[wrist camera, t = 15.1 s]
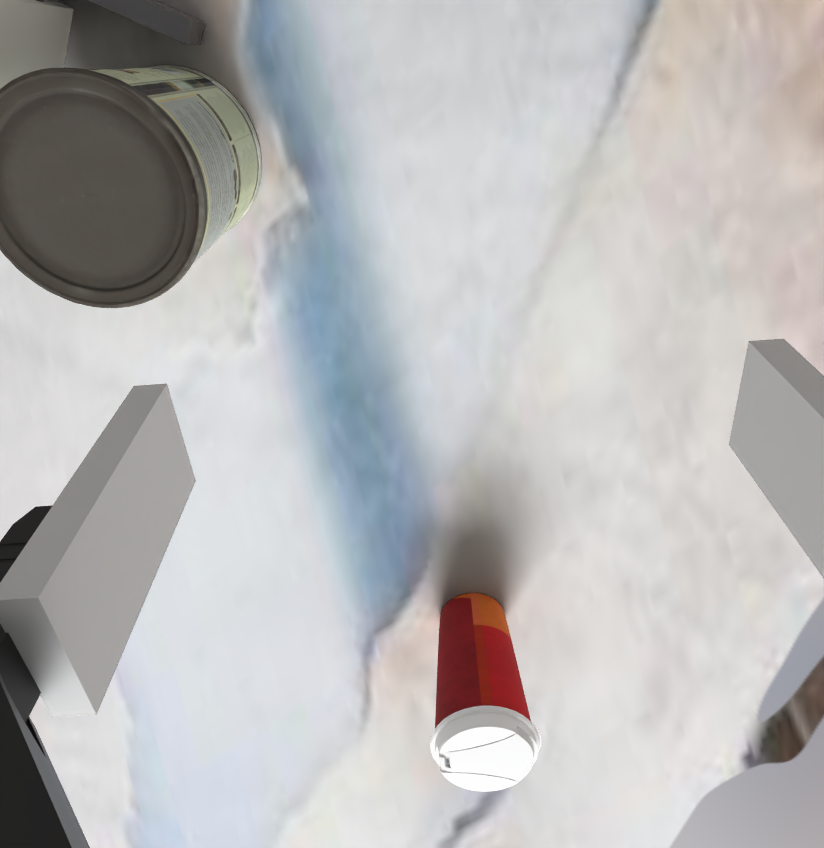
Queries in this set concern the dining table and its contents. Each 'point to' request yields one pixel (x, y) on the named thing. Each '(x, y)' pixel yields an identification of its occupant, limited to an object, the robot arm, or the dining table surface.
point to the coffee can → (120, 178)
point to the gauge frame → (158, 18)
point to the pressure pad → (32, 36)
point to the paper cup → (480, 699)
